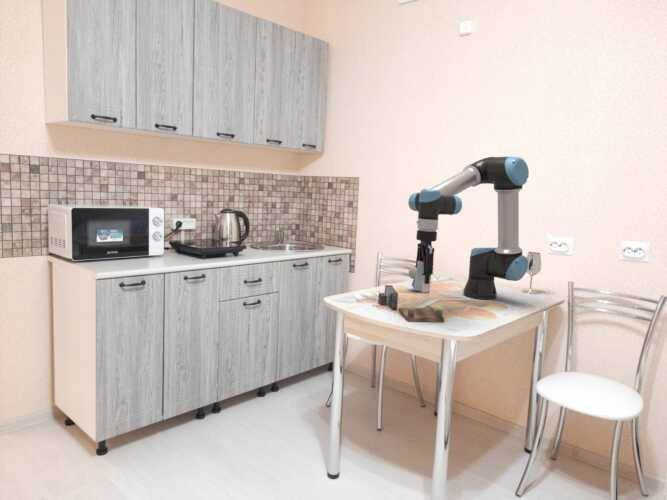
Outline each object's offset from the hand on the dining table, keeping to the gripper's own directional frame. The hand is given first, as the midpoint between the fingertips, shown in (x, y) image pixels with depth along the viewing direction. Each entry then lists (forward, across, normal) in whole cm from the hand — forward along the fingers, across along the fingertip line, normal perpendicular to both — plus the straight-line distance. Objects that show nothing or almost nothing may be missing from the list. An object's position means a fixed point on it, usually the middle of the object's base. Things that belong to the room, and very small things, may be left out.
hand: (422, 289), depth 194 cm
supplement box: (+1, 0, 0) cm, 1 cm away
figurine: (+11, -45, +11) cm, 48 cm away
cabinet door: (+11, -2, -1) cm, 11 cm away
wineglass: (+11, -49, +71) cm, 87 cm away
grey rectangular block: (+10, -19, -7) cm, 23 cm away
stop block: (+11, -19, -11) cm, 24 cm away
